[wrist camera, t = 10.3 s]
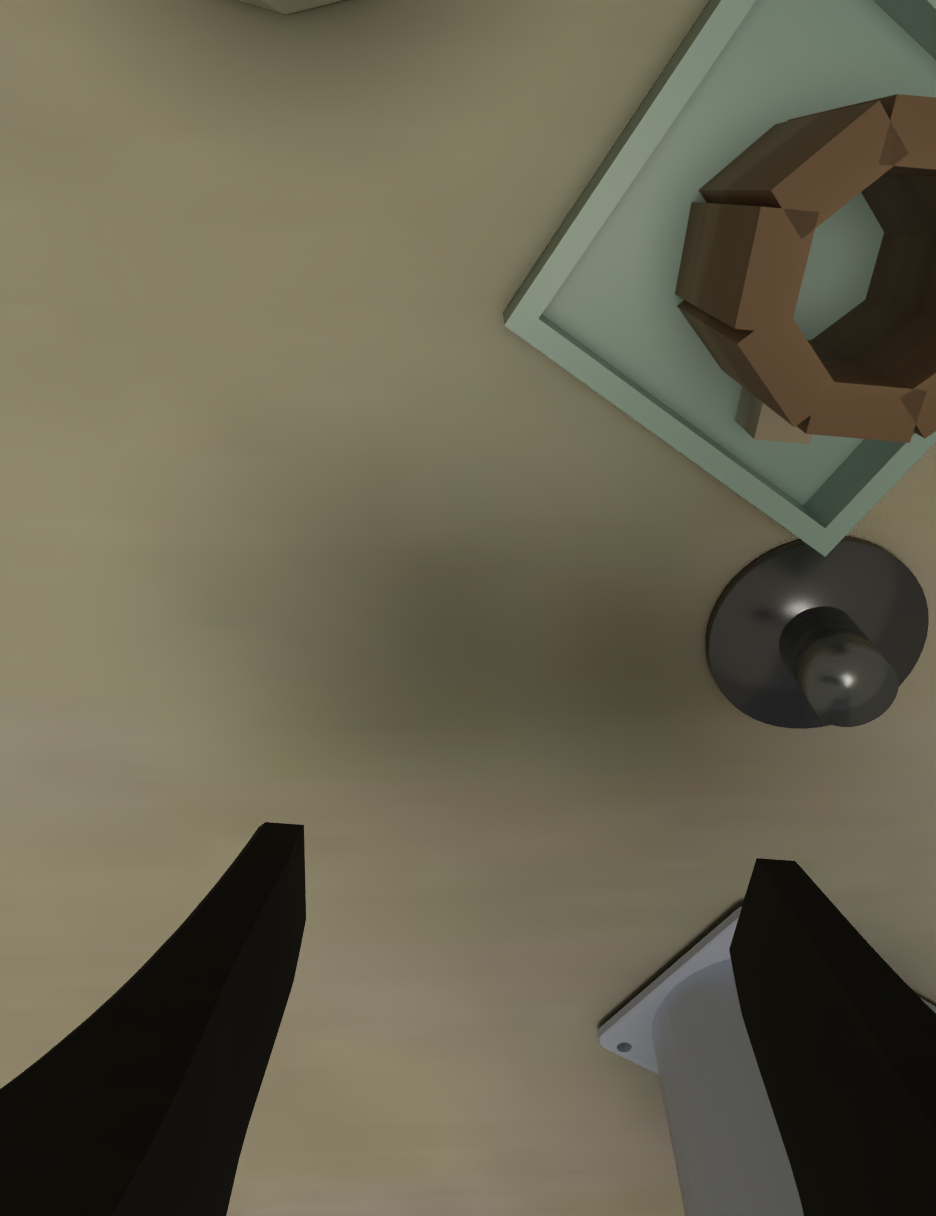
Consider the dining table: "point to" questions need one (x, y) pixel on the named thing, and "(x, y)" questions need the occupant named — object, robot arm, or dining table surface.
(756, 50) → the tray
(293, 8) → the white cup
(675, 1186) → the dining table surface
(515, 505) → the dining table surface
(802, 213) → the brown hollow octagonal cylinder
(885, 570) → the dark grey round stand
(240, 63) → the dining table surface
